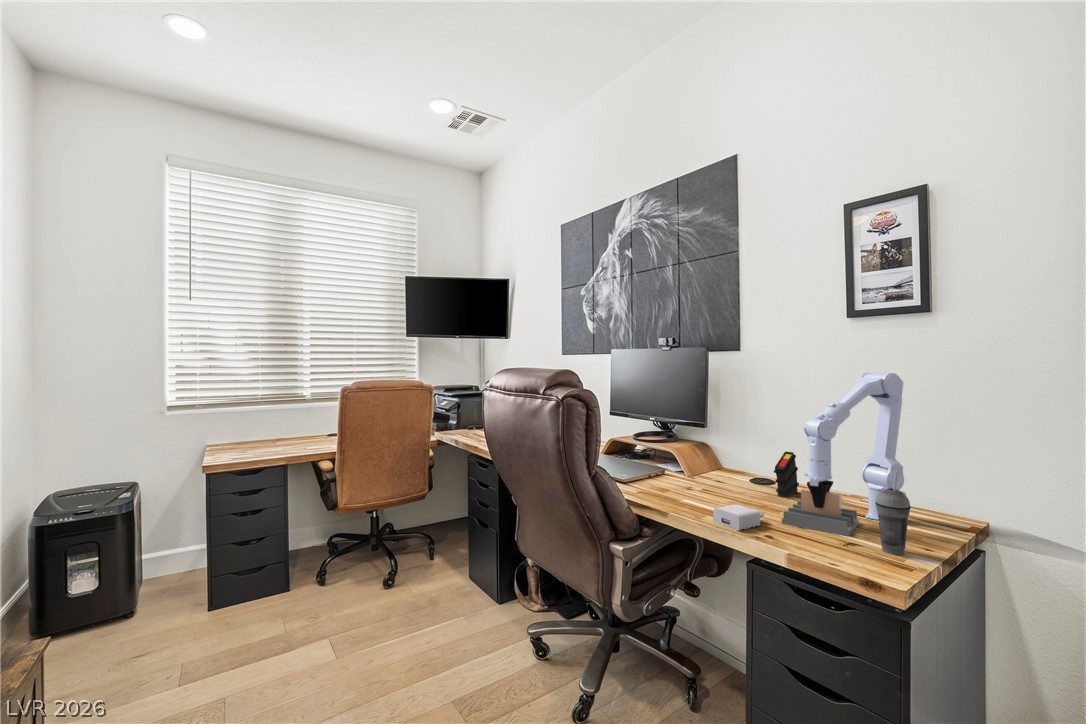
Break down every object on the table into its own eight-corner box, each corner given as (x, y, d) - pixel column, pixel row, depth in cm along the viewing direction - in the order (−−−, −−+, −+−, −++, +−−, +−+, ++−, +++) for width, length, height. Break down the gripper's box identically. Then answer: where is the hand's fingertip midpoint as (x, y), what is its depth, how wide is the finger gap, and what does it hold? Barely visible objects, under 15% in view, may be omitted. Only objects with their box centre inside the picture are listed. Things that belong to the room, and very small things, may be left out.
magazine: (802, 486, 183) (795, 452, 178) (789, 508, 175) (782, 472, 170) (791, 484, 186) (784, 450, 181) (778, 506, 177) (771, 471, 173)
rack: (859, 523, 145) (858, 510, 145) (848, 536, 134) (848, 523, 134) (796, 511, 157) (796, 500, 157) (781, 523, 145) (781, 510, 145)
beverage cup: (896, 546, 127) (895, 467, 127) (919, 557, 119) (918, 474, 120) (868, 546, 126) (868, 468, 127) (889, 557, 119) (888, 474, 119)
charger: (774, 524, 145) (738, 532, 138) (748, 516, 153) (713, 523, 146) (774, 508, 145) (738, 515, 138) (747, 500, 153) (713, 507, 146)
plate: (841, 521, 143) (841, 493, 143) (839, 523, 141) (839, 495, 141) (803, 514, 149) (803, 488, 150) (801, 516, 148) (801, 489, 148)
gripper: (811, 455, 154) (811, 499, 153) (798, 461, 143) (798, 509, 143) (837, 457, 149) (837, 503, 149) (825, 465, 138) (826, 513, 138)
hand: (820, 506), depth 145 cm, fingers closed on plate, 3 cm apart
